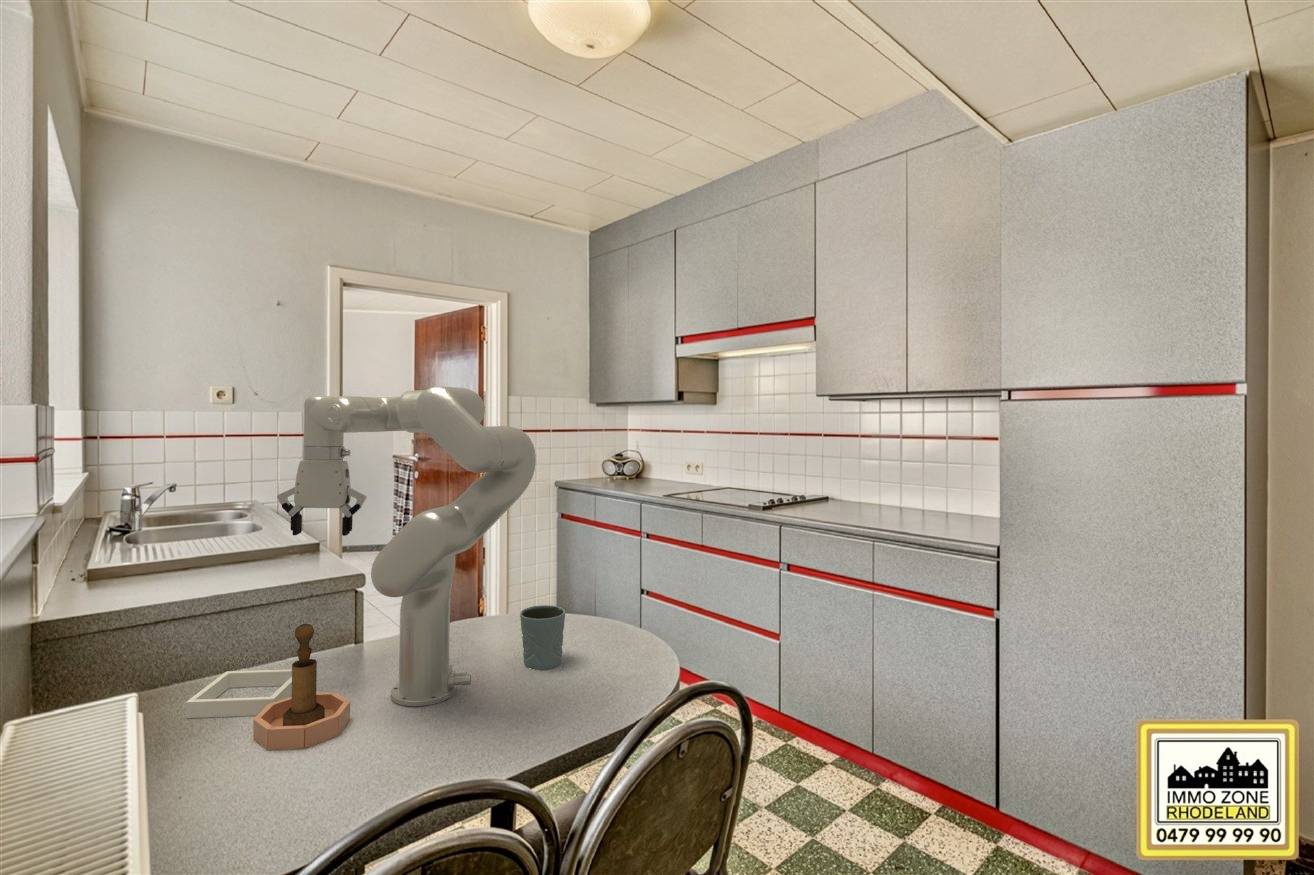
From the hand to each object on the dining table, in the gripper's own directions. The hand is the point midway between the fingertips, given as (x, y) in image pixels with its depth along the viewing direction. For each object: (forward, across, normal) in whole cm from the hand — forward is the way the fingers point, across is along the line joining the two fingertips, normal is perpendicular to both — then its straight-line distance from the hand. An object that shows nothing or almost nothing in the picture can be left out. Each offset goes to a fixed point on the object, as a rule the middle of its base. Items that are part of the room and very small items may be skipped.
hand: (321, 534), depth 135 cm
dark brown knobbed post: (+30, -5, +24) cm, 39 cm away
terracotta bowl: (+30, -5, +24) cm, 39 cm away
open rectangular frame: (+31, +9, +11) cm, 34 cm away
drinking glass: (+30, -47, -1) cm, 56 cm away
